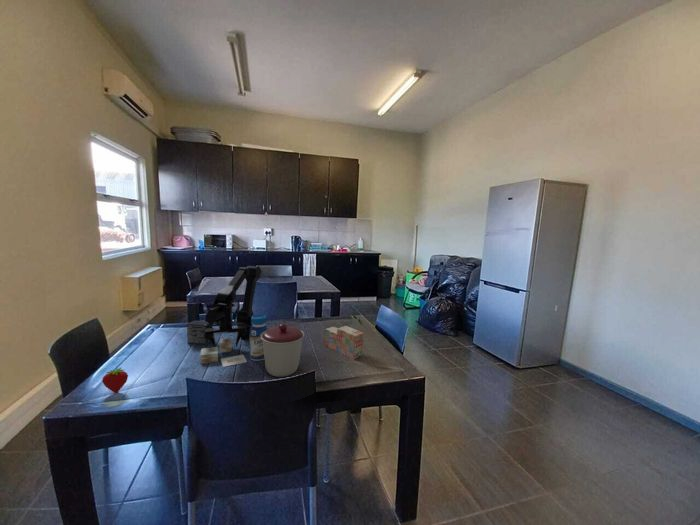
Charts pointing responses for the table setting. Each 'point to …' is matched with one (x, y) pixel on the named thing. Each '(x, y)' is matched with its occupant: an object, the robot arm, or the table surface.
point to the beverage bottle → (257, 337)
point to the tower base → (209, 355)
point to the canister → (282, 349)
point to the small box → (198, 332)
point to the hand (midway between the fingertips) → (226, 347)
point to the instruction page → (233, 360)
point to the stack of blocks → (345, 341)
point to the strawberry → (115, 379)
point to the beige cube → (225, 345)
